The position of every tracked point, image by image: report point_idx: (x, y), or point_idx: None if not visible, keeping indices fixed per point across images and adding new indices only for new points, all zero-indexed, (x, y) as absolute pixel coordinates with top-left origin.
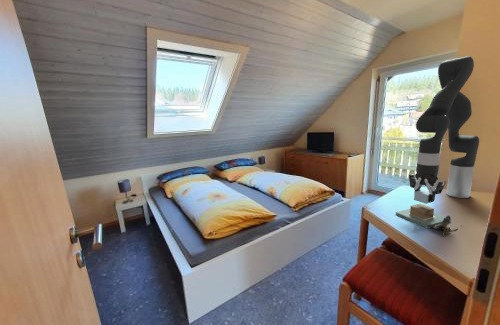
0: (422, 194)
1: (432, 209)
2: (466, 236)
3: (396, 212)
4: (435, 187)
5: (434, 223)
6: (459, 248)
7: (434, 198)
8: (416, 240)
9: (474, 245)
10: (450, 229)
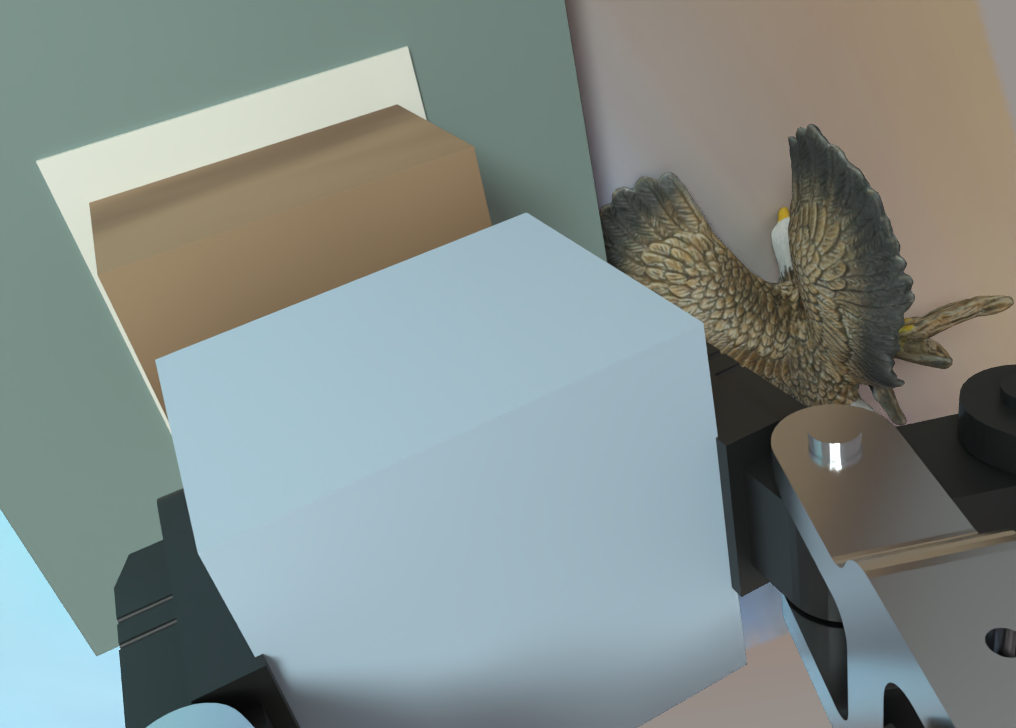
0: (616, 711)
1: (482, 204)
2: (885, 51)
3: (105, 648)
4: (1013, 549)
5: None
6: (967, 341)
7: (735, 374)
8: (763, 627)
9: (1000, 149)
10: (940, 349)
